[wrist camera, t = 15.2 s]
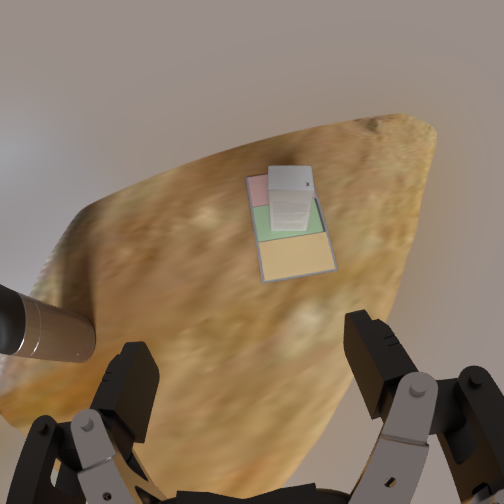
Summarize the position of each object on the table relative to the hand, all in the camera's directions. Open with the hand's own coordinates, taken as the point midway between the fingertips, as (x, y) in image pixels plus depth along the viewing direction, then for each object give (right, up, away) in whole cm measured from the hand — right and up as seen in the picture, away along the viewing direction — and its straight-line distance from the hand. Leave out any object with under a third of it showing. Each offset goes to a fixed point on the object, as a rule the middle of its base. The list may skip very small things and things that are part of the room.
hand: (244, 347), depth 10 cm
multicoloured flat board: (+6, +9, +36) cm, 38 cm away
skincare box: (+6, +9, +35) cm, 37 cm away
